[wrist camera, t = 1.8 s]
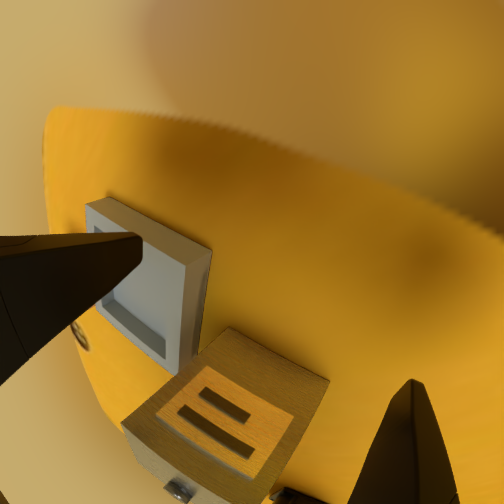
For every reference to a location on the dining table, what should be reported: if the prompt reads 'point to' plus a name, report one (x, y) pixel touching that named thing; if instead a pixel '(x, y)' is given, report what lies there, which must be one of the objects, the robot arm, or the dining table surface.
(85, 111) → the dining table surface
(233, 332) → the junction box
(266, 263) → the dining table surface
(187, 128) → the dining table surface
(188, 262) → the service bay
